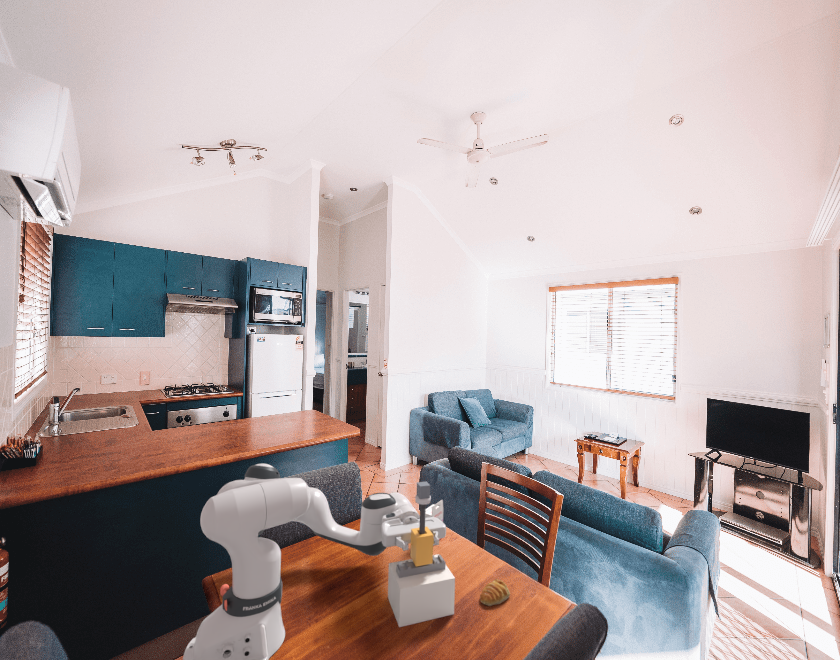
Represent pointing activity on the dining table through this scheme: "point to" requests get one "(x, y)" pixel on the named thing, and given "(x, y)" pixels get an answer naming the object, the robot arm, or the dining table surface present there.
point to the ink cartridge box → (435, 511)
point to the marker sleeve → (421, 547)
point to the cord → (422, 502)
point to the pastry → (494, 593)
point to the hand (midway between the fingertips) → (421, 545)
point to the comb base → (420, 591)
